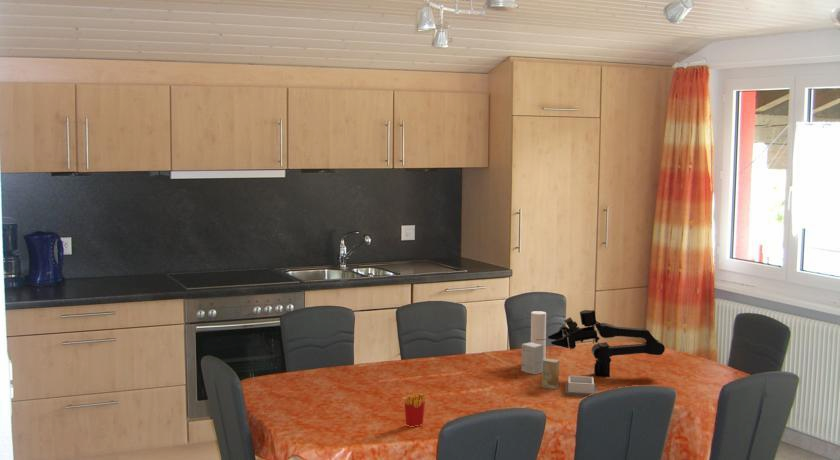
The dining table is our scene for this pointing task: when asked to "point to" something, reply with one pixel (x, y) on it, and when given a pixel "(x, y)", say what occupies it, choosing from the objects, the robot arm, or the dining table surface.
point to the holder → (580, 386)
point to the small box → (532, 358)
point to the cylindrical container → (538, 329)
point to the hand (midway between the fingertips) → (549, 340)
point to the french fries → (414, 409)
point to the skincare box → (550, 373)
